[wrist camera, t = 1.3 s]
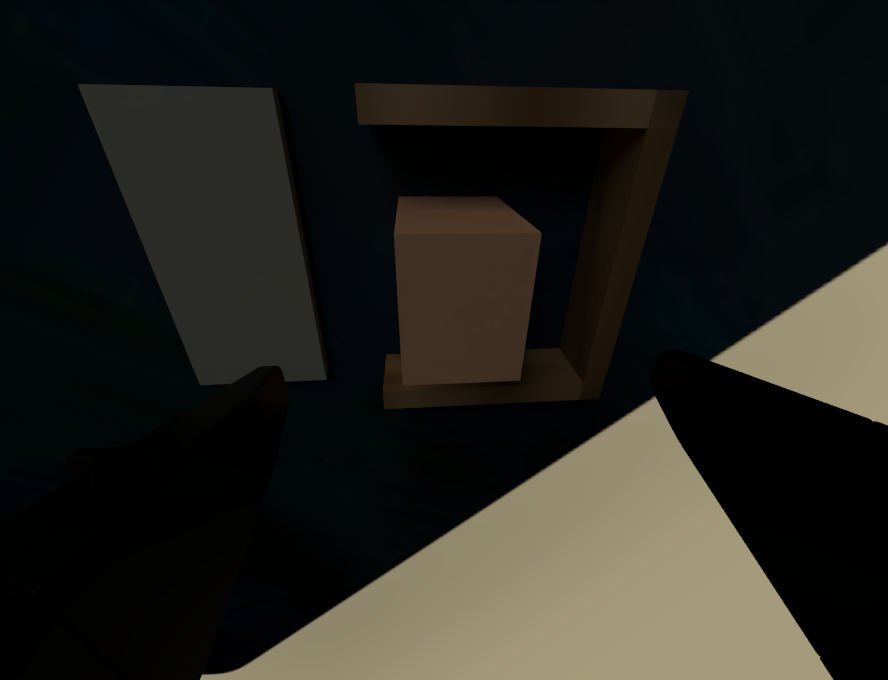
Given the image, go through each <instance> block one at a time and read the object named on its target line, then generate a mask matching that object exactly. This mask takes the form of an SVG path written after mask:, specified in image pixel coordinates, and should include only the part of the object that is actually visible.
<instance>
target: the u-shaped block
mask: <svg viewBox="0 0 888 680" xmlns="http://www.w3.org/2000/svg"><path fill="white" fill-rule="evenodd" d="M355 92H356V103H357V114H358V124H371V125H444V126H518V127H591V128H604V130H603V135H602V140H601V145H600V150H599V155H598V160H597V165H596V169H595V174H594V179H593V184H592V189H591V194H590V199H589V204H588V209H587V214H586V219H585V224H584V229H583V234H582V239H581V244H580V249H579V254H578V259H577V264H576V269H575V274H574V279H573V284H572V289H571V294H570V298H569V303H568V308H567V313H566V318H565V323H564V328H563V333H562V338H561V343H560V348H547V349H525V351H524V358H523V365H522V372H521V379H520V381H498V382H475V383H451V384H428V385H405V386H403V382H402V364H401V354H386V365H385V375H384V386H383V397H384V408H385V409H398V408H418V407H439V406H460V405H481V404H502V403H523V402H544V401H565V400H586V399H599V398H600V395H601V391H602V388H603V384H604V381H605V377H606V374H607V371H608V367H609V364H610V360H611V357H612V353H613V350H614V346H615V343H616V340H617V336H618V333H619V329H620V326H621V322H622V319H623V315H624V312H625V308H626V305H627V302H628V298H629V295H630V291H631V288H632V284H633V281H634V277H635V274H636V271H637V267H638V264H639V260H640V257H641V253H642V250H643V246H644V243H645V240H646V236H647V233H648V229H649V226H650V222H651V219H652V215H653V212H654V209H655V205H656V202H657V198H658V195H659V191H660V188H661V184H662V181H663V178H664V174H665V171H666V167H667V164H668V160H669V157H670V153H671V150H672V147H673V143H674V140H675V136H676V133H677V129H678V126H679V122H680V119H681V116H682V112H683V109H684V105H685V102H686V98H687V95H688V91H680V90H635V89H591V88H546V87H501V86H457V85H412V84H368V83H355Z"/></svg>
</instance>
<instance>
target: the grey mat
mask: <svg viewBox="0 0 888 680" xmlns="http://www.w3.org/2000/svg"><path fill="white" fill-rule="evenodd" d="M78 86H79V89H80V91H81V94H82V96H83V99H84V101H85V104H86V106H87V108H88V111H89V113H90V116H91V118H92V121H93V123H94V126H95V128H96V131H97V133H98V135H99V138H100V140H101V143H102V145H103V148H104V150H105V153H106V155H107V158H108V160H109V163H110V165H111V167H112V170H113V172H114V175H115V177H116V180H117V182H118V185H119V187H120V190H121V192H122V194H123V197H124V199H125V202H126V204H127V207H128V209H129V212H130V214H131V217H132V219H133V221H134V224H135V226H136V229H137V231H138V234H139V236H140V239H141V241H142V244H143V246H144V248H145V251H146V253H147V256H148V258H149V261H150V263H151V266H152V268H153V271H154V273H155V275H156V278H157V280H158V283H159V285H160V288H161V290H162V293H163V295H164V298H165V300H166V303H167V305H168V307H169V310H170V312H171V315H172V317H173V320H174V322H175V325H176V327H177V330H178V332H179V334H180V337H181V339H182V342H183V344H184V347H185V349H186V352H187V354H188V357H189V359H190V361H191V364H192V366H193V369H194V371H195V374H196V376H197V379H198V381H199V384H200V385H213V384H232V383H233V382H235V381H237V380H238V379H240V378H242V377H243V376H245V375H246V374H248V373H250V372H251V371H253V370H255V369H256V368H258V367H260V366H279V367H280V368H281V369H282V372H283V375H284V379H285V382H287V381H311V380H327V377H328V374H329V372H328V366H327V361H326V355H325V350H324V344H323V339H322V333H321V327H320V322H319V316H318V311H317V305H316V300H315V294H314V289H313V283H312V278H311V272H310V267H309V261H308V256H307V250H306V245H305V239H304V234H303V228H302V222H301V217H300V211H299V206H298V200H297V195H296V189H295V184H294V178H293V173H292V167H291V162H290V156H289V151H288V145H287V140H286V134H285V129H284V123H283V117H282V112H281V106H280V101H279V95H278V90H277V89H273V88H236V87H189V86H141V85H93V84H78Z"/></svg>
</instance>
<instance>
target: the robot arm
mask: <svg viewBox="0 0 888 680" xmlns="http://www.w3.org/2000/svg"><path fill="white" fill-rule="evenodd" d="M650 386H651V389H652V391H653V393H654V395H655V397H656V399H657V400H658V402H659V404H660V406H661V408H662V410H663V412H664V414H665V416H666V418H667V420H668V422H669V424H670V426H671V427H672V430H673V431H674V433H675V435H676V437H677V439H678V440H679V442H680V443H681V445H682V447H683V448H684V450H685V451H686V453H687V455H688V456H689V458H690V459H691V461H692V462H693V464H694V466H695V467H696V469H697V470H698V471H699V473H700V475H701V476H702V478H703V479H704V481H705V482H706V484H707V485H708V487H709V489H710V490H711V492H712V493H713V495H714V496H715V498H716V499H717V501H718V502H719V504H720V505H721V507H722V508H723V510H724V512H725V513H726V515H727V516H728V518H729V519H730V521H731V522H732V524H733V525H734V527H735V528H736V530H737V532H738V533H739V535H740V536H741V537H742V539H743V541H744V542H745V544H746V545H747V547H748V548H749V550H750V552H751V553H752V555H753V556H754V557H755V559H756V561H757V562H758V564H759V565H760V567H761V568H762V570H763V572H764V573H765V575H766V576H767V578H768V579H769V581H770V582H771V584H772V585H773V587H774V588H775V590H776V591H777V593H778V595H779V596H780V598H781V599H782V601H783V602H784V604H785V605H786V607H787V608H788V610H789V611H790V613H791V615H792V616H793V618H794V619H795V621H796V622H797V624H798V625H799V627H800V628H801V630H802V631H803V633H804V635H805V636H806V638H807V639H808V641H809V642H810V644H811V645H812V647H813V648H814V650H815V651H816V653H817V654H818V655H819V656H821V657H820V660H821V661H822V663H823V664H824V666H825V667H826V669H827V670H828V672H829V673H830V675H831V677H832V678H833V680H888V425H885V424H882V423H880V422H876V421H874V422H873V421H872V420H870V419H869V418H866V417H863V416H860V415H857V414H855V413H852V412H849V411H846V410H844V409H841V408H838V407H835V406H833V405H830V404H827V403H824V402H822V401H819V400H816V399H813V398H811V397H808V396H805V395H802V394H799V393H797V392H794V391H791V390H789V389H786V388H783V387H780V386H778V385H775V384H772V383H769V382H767V381H764V380H761V379H758V378H756V377H753V376H750V375H747V374H745V373H742V372H739V371H736V370H734V369H731V368H728V367H725V366H722V365H720V364H717V363H714V362H712V361H709V360H706V359H703V358H701V357H698V356H695V355H692V354H690V353H687V352H684V351H681V350H665V351H662V352H661V353H660V354H659V355H658V358H657V360H656V363H655V366H654V368H653V371H652V374H651V377H650ZM288 404H289V395H288V391H287V387H286V383H285V379H284V375H283V372H282V369H281V368H280V367H279V366H260V367H258V368H256V369H255V370H253V371H251V372H250V373H248V374H246V375H245V376H243V377H242V378H240V379H238V380H237V381H235V382H233V383H232V384H230V385H228V386H227V387H225V388H223V389H222V390H220V391H218V392H217V393H215V394H214V395H212V396H210V397H209V398H207V399H205V400H204V401H202V402H200V403H199V404H197V405H195V406H194V407H192V408H190V409H189V410H187V411H186V412H184V413H182V414H181V415H179V416H177V417H176V418H174V419H172V420H171V421H169V422H167V423H166V424H164V425H162V426H161V427H159V428H158V429H156V430H154V431H153V432H151V433H149V434H148V435H146V436H144V437H143V438H141V439H139V440H138V441H136V442H134V443H133V444H131V445H130V446H128V447H126V448H108V449H89V450H76V451H73V452H72V453H71V454H70V455H69V456H68V457H67V458H66V463H67V464H68V465H69V467H70V468H71V470H72V471H73V472H74V474H75V475H76V476H77V478H75V479H73V480H72V481H70V482H68V483H67V484H65V485H63V486H62V487H60V488H58V489H57V490H55V491H53V492H52V493H50V494H48V495H46V496H45V497H43V498H41V499H40V500H38V501H36V502H35V503H33V504H31V505H29V506H28V507H26V508H24V509H22V510H21V511H19V512H17V513H15V514H13V515H12V516H10V517H8V518H6V519H4V520H3V521H1V522H0V680H200V678H201V676H202V673H203V670H204V667H205V664H206V661H207V658H208V656H209V653H210V650H211V647H212V644H213V641H214V638H215V636H216V633H217V630H218V627H219V624H220V621H221V618H222V616H223V613H224V610H225V607H226V604H227V601H228V598H229V596H230V593H231V590H232V587H233V584H234V581H235V578H236V576H237V573H238V570H239V567H240V564H241V561H242V558H243V556H244V553H245V550H246V547H247V544H248V541H249V538H250V536H251V533H252V530H253V527H254V524H255V521H256V518H257V516H258V513H259V510H260V507H261V504H262V501H263V498H264V496H265V493H266V490H267V487H268V484H269V481H270V479H271V476H272V473H273V469H274V466H275V463H276V459H277V455H278V450H279V446H280V441H281V437H282V432H283V428H284V423H285V418H286V414H287V409H288Z"/></svg>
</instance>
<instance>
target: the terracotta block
mask: <svg viewBox="0 0 888 680" xmlns="http://www.w3.org/2000/svg"><path fill="white" fill-rule="evenodd" d="M541 234H542V233H541V232H540V231H539V230H537V229H536V228H535V227H534V226H532V225H531V224H530V223H529V222H527V221H526V220H525V219H524V218H522V217H521V216H520V215H519V214H518V213H516V212H515V211H514V210H513V209H511V208H510V207H509V206H508V205H506V204H505V203H504V202H503V201H501V200H500V199H499V198H498V197H496V196H412V197H399V199H398V207H397V215H396V224H395V232H394V241H395V258H396V276H397V294H398V311H399V329H400V346H401V364H402V382H403V386H405V385H428V384H451V383H475V382H498V381H520V379H521V372H522V365H523V358H524V351H525V344H526V337H527V330H528V323H529V317H530V310H531V303H532V296H533V289H534V282H535V275H536V268H537V262H538V255H539V248H540V241H541Z"/></svg>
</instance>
